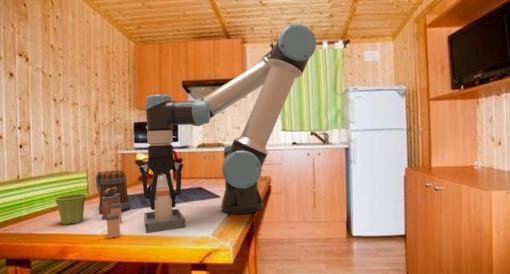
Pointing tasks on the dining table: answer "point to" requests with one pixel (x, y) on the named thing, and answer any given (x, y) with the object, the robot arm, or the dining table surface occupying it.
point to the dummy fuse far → (116, 209)
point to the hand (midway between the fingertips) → (163, 218)
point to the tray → (163, 222)
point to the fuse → (163, 203)
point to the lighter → (109, 201)
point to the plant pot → (71, 208)
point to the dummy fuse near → (113, 225)
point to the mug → (111, 181)
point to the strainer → (163, 180)
